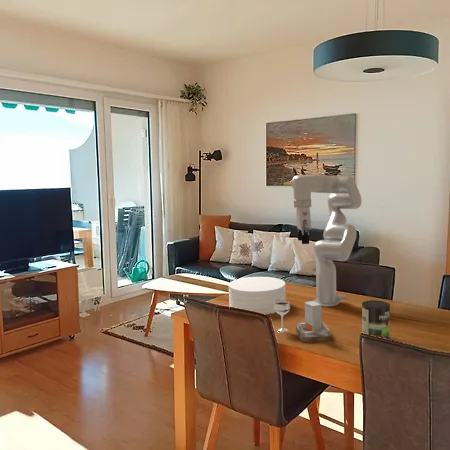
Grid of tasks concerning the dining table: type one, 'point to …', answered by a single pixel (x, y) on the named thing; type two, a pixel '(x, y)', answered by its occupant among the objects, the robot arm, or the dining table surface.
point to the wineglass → (282, 311)
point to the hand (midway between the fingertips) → (303, 242)
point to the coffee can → (376, 318)
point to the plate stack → (256, 293)
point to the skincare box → (313, 316)
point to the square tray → (313, 333)
